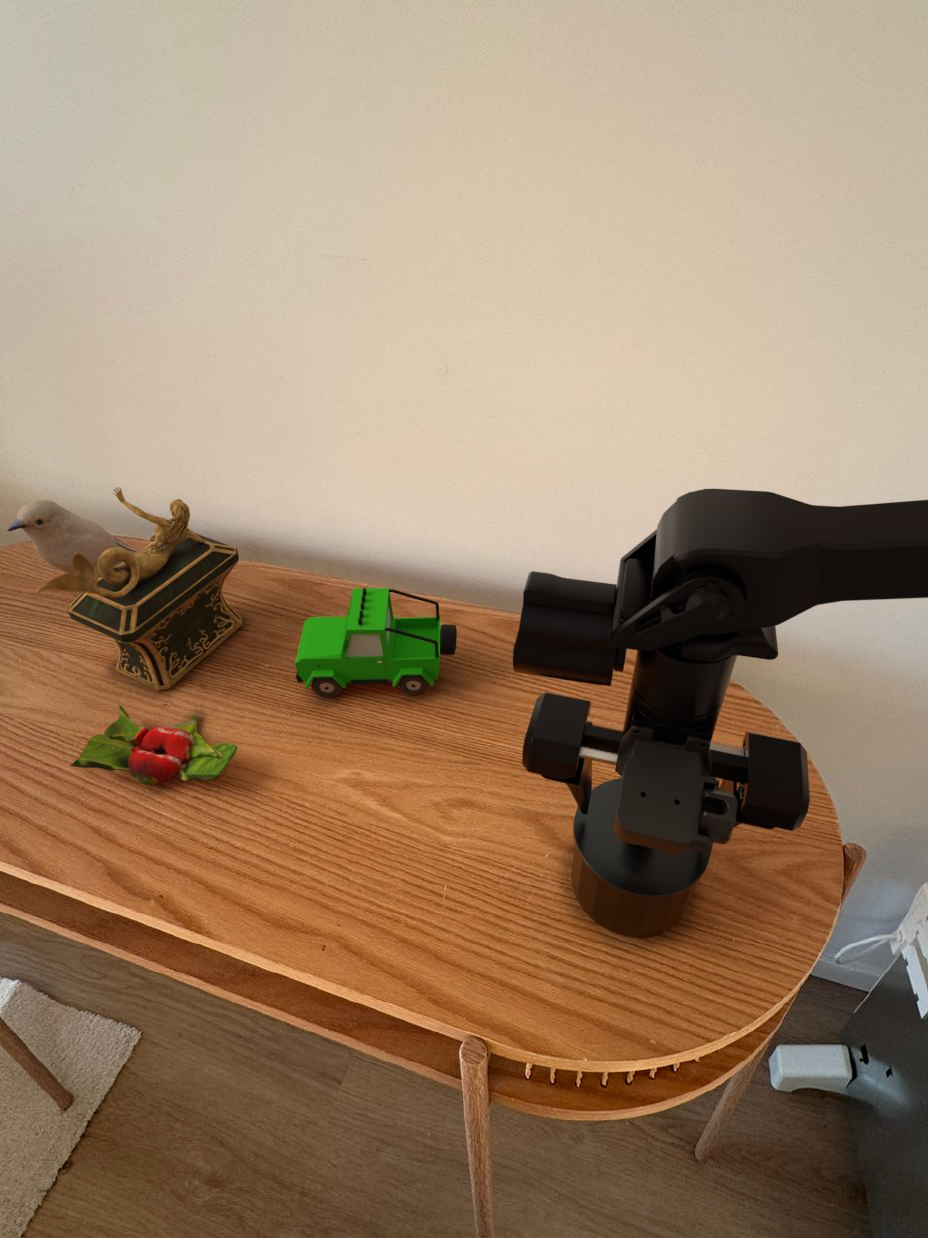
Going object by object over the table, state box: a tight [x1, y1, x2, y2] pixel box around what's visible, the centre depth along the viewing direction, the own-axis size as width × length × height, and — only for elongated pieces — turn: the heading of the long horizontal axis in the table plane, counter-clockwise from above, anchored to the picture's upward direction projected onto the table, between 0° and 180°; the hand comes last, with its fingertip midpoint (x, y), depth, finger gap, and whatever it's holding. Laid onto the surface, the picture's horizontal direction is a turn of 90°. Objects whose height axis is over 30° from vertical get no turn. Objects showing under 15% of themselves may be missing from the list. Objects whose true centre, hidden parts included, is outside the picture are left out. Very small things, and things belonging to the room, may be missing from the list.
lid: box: [572, 777, 712, 899], centre depth 56 cm, size 11×11×5 cm
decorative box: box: [35, 486, 243, 692], centre depth 78 cm, size 20×10×20 cm, turn 151°
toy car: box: [294, 587, 458, 699], centre depth 78 cm, size 8×17×10 cm, turn 91°
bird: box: [6, 499, 138, 579], centre depth 89 cm, size 5×14×15 cm, turn 145°
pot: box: [570, 846, 697, 939], centre depth 60 cm, size 10×10×7 cm
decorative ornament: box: [70, 705, 238, 787], centre depth 72 cm, size 15×5×10 cm
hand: (644, 823), depth 56 cm, fingers open, 9 cm apart
